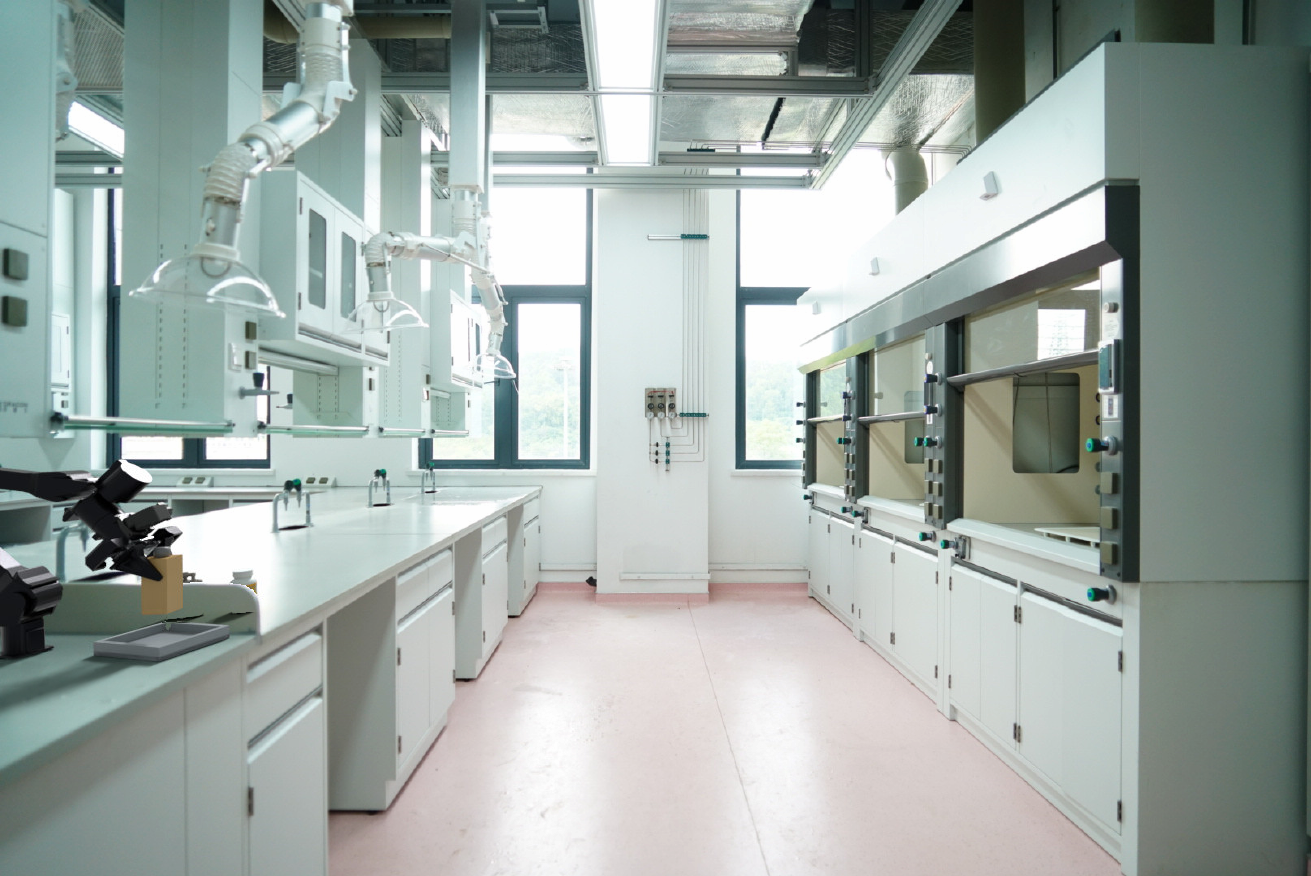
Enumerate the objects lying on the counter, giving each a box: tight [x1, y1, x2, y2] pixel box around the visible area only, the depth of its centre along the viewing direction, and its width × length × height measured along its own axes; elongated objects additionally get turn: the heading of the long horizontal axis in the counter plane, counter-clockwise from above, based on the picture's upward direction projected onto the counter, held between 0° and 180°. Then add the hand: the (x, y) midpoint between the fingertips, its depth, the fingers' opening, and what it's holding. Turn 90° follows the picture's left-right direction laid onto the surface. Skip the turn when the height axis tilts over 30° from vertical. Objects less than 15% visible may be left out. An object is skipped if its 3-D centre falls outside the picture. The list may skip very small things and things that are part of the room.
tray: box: [92, 622, 231, 662], centre depth 124 cm, size 16×14×2 cm
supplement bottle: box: [229, 568, 258, 595], centre depth 149 cm, size 5×5×10 cm
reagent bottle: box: [140, 546, 184, 616], centre depth 124 cm, size 5×5×12 cm
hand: (169, 576), depth 124 cm, fingers closed on reagent bottle, 5 cm apart
